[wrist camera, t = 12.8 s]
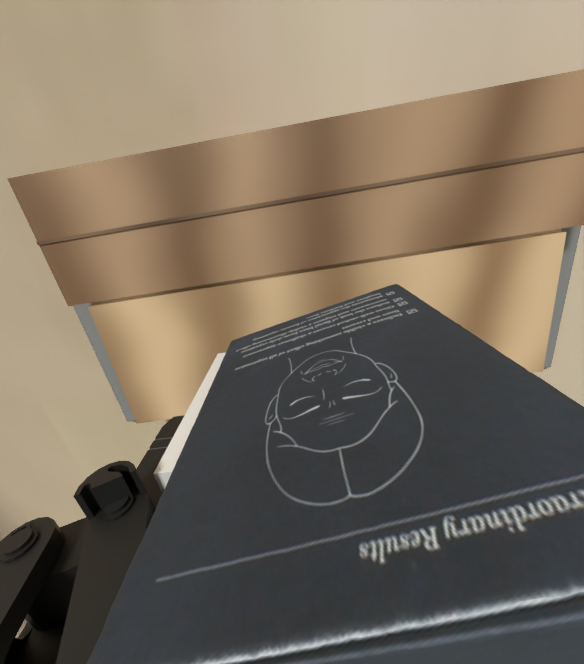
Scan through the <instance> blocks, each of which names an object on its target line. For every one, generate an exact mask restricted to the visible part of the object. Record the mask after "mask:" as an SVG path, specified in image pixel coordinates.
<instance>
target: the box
mask: <svg viewBox="0 0 584 664" xmlns="http://www.w3.org/2000/svg"><path fill="white" fill-rule="evenodd" d="M87 664H584V407H583V406H581V405H580V404H578V403H577V402H575V401H574V400H572V399H571V398H569V397H567V396H566V395H564V394H563V393H561V392H560V391H558V390H557V389H556V388H554V387H553V386H551V385H550V384H548V383H547V382H545V381H544V380H542V379H541V378H539V377H537V376H536V375H534V374H532V373H531V372H529V371H528V370H526V369H525V368H524V367H522V366H521V365H519V364H518V363H516V362H515V361H513V360H511V359H510V358H508V357H507V356H505V355H504V354H502V353H501V352H499V351H498V350H496V349H495V348H494V347H492V346H490V345H489V344H487V343H486V342H485V341H483V340H482V339H480V338H479V337H477V336H476V335H474V334H473V333H471V332H470V331H468V330H467V329H465V328H463V327H462V326H461V325H459V324H457V323H455V322H454V321H453V320H451V319H450V318H448V317H447V316H445V315H443V314H442V313H440V312H439V311H438V310H436V309H435V308H433V307H432V306H430V305H428V304H427V303H425V302H424V301H423V300H421V299H419V298H418V297H417V296H415V295H414V294H412V293H410V292H409V291H408V290H406V289H405V288H403V287H402V286H400V285H398V284H393V285H390V286H386V287H384V288H381V289H378V290H375V291H372V292H369V293H366V294H364V295H361V296H358V297H355V298H352V299H349V300H346V301H343V302H340V303H337V304H334V305H332V306H328V307H326V308H323V309H320V310H317V311H315V312H312V313H309V314H306V315H303V316H300V317H297V318H294V319H292V320H289V321H286V322H283V323H280V324H277V325H274V326H272V327H269V328H266V329H263V330H260V331H257V332H254V333H252V334H249V335H246V336H243V337H241V338H238V339H235V340H232V341H231V343H230V345H229V347H228V349H227V352H226V354H225V356H224V358H223V360H222V362H221V365H220V367H219V370H218V372H217V374H216V376H215V378H214V380H213V383H212V385H211V387H210V389H209V391H208V394H207V396H206V398H205V400H204V403H203V405H202V407H201V409H200V411H199V414H198V416H197V418H196V420H195V423H194V425H193V427H192V429H191V431H190V434H189V436H188V438H187V440H186V442H185V445H184V447H183V449H182V451H181V453H180V456H179V458H178V460H177V462H176V465H175V467H174V469H173V471H172V473H171V476H170V478H169V480H168V483H167V485H166V487H165V489H164V491H163V493H162V495H161V497H160V500H159V502H158V505H157V508H156V510H155V512H154V514H153V516H152V518H151V521H150V523H149V525H148V528H147V530H146V532H145V535H144V537H143V539H142V541H141V543H140V545H139V547H138V549H137V551H136V554H135V556H134V558H133V560H132V562H131V564H130V566H129V569H128V571H127V573H126V576H125V578H124V580H123V583H122V585H121V587H120V589H119V592H118V594H117V596H116V598H115V600H114V603H113V605H112V607H111V609H110V612H109V614H108V617H107V620H106V622H105V625H104V627H103V630H102V632H101V634H100V636H99V638H98V641H97V643H96V645H95V647H94V649H93V651H92V654H91V656H90V658H89V660H88V662H87Z"/></svg>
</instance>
